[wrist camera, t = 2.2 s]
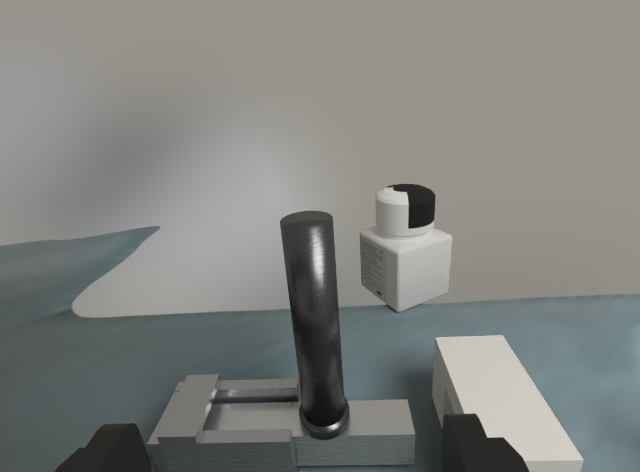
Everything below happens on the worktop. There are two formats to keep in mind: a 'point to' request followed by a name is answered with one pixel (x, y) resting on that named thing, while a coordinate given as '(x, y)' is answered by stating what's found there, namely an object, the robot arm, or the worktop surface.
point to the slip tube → (322, 369)
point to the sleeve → (222, 445)
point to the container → (405, 249)
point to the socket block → (500, 400)
